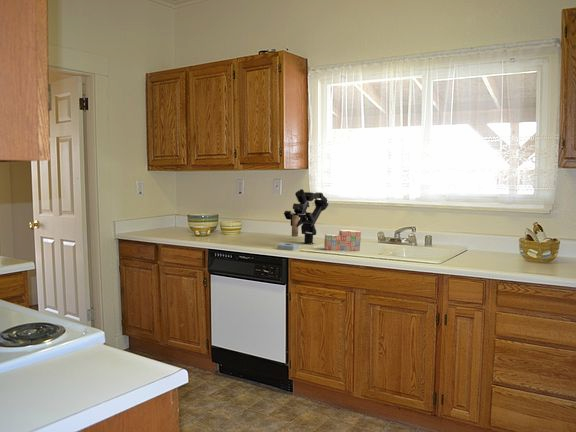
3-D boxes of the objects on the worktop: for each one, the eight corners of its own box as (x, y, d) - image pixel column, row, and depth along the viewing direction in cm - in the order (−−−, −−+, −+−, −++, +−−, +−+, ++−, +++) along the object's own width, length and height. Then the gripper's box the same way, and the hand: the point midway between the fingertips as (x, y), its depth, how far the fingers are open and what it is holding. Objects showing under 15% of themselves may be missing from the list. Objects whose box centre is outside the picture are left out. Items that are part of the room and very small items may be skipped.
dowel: (291, 235, 326) (291, 215, 325) (297, 235, 327) (298, 215, 325) (292, 236, 322) (293, 215, 321) (298, 236, 323) (299, 215, 322)
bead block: (283, 246, 324) (283, 242, 323) (298, 248, 320) (298, 244, 320) (277, 248, 314) (277, 244, 314) (293, 250, 311) (293, 246, 310)
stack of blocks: (325, 250, 318) (326, 230, 317) (324, 248, 324) (325, 229, 323) (360, 251, 320) (361, 231, 319) (357, 249, 326) (358, 230, 325)
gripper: (285, 198, 330) (277, 216, 321) (312, 199, 322) (304, 218, 313) (290, 209, 338) (282, 227, 329) (317, 211, 329) (309, 230, 320)
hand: (294, 226), depth 322 cm, fingers closed on dowel, 4 cm apart
